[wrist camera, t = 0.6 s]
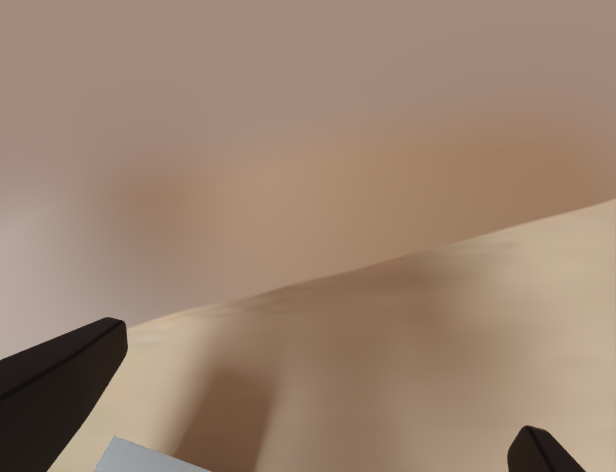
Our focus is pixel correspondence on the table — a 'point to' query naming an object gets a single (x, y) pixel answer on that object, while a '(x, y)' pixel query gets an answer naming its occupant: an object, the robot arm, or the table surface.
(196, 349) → the table surface
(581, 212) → the table surface
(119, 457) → the grey block
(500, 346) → the table surface
